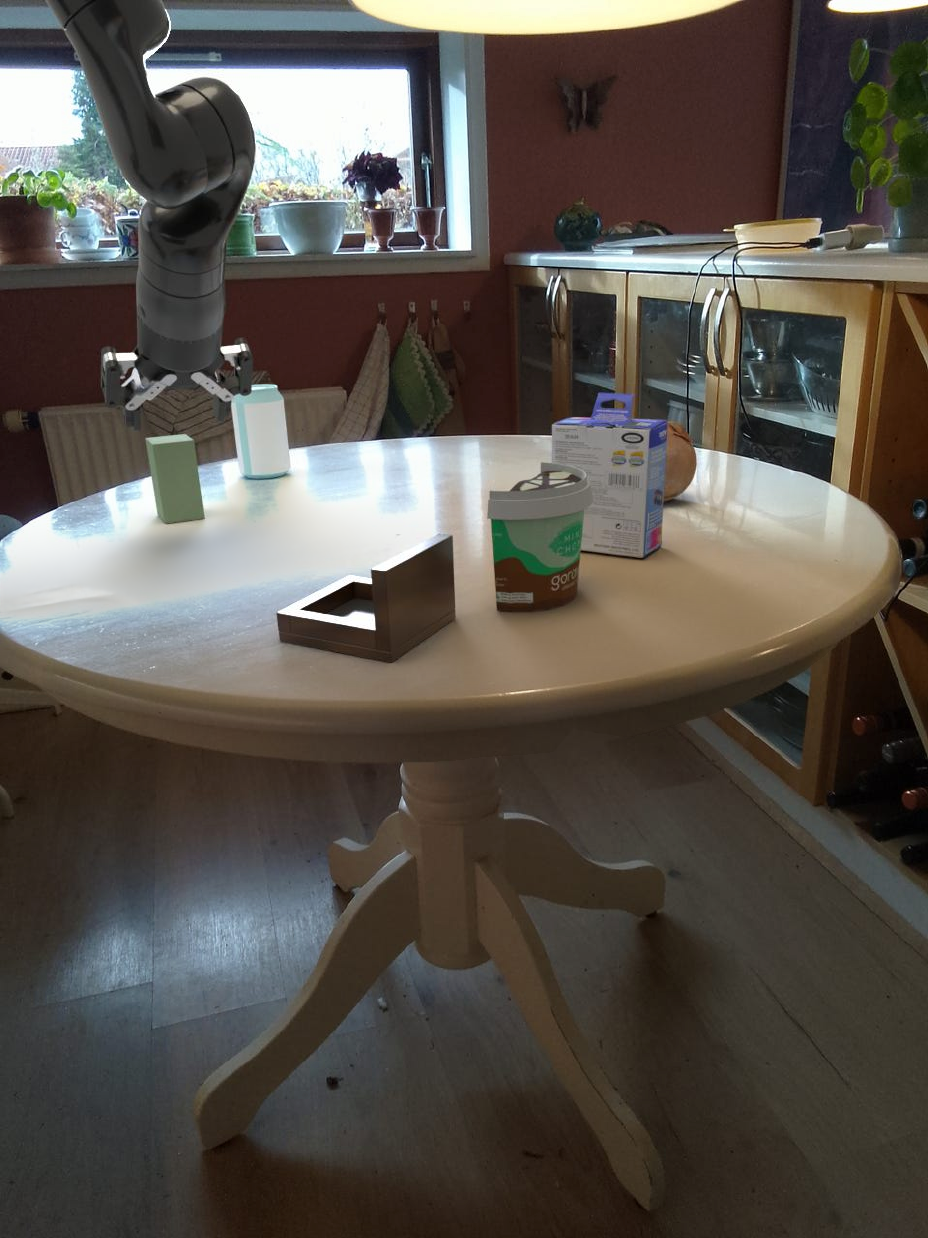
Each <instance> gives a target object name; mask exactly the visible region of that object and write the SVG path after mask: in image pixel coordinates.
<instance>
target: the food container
mask: <svg viewBox="0 0 928 1238" xmlns="http://www.w3.org/2000/svg"><path fill="white" fill-rule="evenodd" d="M592 503H593V496H592V491H591V486H590V482H589V480H588V479H587V475H586V473H585V472H584V471H583V470H581V469H579V468H576V467H573V466H568V465H563V464H557V463H552V462H547V461H541V462H540V473H538V474H537V475H536V476H534V477H532V478H530V479H529V478H528V479H523V480H520V481H518V482H517V483H516V484H514V486H513V487H512V488H511V489H510V490H489V498H488V501H487V516H486V517H487V520H490V526H491V544H492V554H493V555H492V557H493V558H492V560H493V575H494V588H495V589H494V590H495V604H496V605H495V606H496V607H495V608H496V611H501V612H510V613H515V612H516V613H517V612H519V613H521V612H523V613H525V612H526V613H527V612H529V613H530V612H538V611H539V612H540V611H547V610H552V609H556V608H559V607H563V606H565V605H567V604H568V603H571V602H572V601H573V600H574V599H576V597H577V593H578V585H579V584H578V583H579V575H580V573H579V572H580V562H581V551H582V550H581V542H582V531H583V520H584V509H585V508H587V507H589V506H590V505H591V504H592Z"/></svg>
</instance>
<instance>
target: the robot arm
mask: <svg viewBox="0 0 928 1238" xmlns="http://www.w3.org/2000/svg"><path fill="white" fill-rule="evenodd" d="M45 2H46V4H47V5H48V7H49V9H50V11H51V12H52V14H53V16H54V17H55V19H56V20H57V22H58V24H59V26H60V27H61V29H62V31H63V32H64V34H65V36H66V37H67V39H68V41H69V43H70V44H71V45H72V47H73V49H74V52H75V53H76V56H77V58H78V60H79V63H80V67H81V69H82V71H83V74H84V77H85V80H86V83H87V85H88V88H89V91H90V94H91V96H92V98H93V102H94V104H95V107H96V110H97V113H98V116H99V119H100V122H101V126H102V129H103V132H104V135H105V138H106V141H107V145H108V147H109V150H110V153H111V156H112V159H113V160H114V163H115V165H116V167H117V169H118V171H119V172H120V174H121V176H122V177H123V179H124V181H125V182H126V183H127V185H128V186H129V187H130V188H131V189H132V190H133V191H134V192H135V193H136V194H137V195H138V196H139V197H141V198H142V199H143V200H144V201H145V202H144V204H143V206H142V207H141V209H140V212H139V215H138V224H137V238H138V241H137V244H138V267H137V271H136V272H137V273H136V281H135V282H136V283H135V291H136V292H135V294H136V295H135V296H136V297H135V298H136V301H135V302H136V333H137V336H136V337H137V343H136V346H135V348H134V349H133V350H132V352H116V349H115V347H113V346H111V345H110V346H109V345H108V346H104V347H103V348H101V353H100V354H101V355H100V356H101V357H100V358H101V359H100V388H101V391H102V393H103V397H104V404H105V407H107V408H109V409H115V408H117V407H119V406H121V407H122V415H123V419H124V422H125V425H126V427H128V428H132V430H133V432H140V431H142V418H141V417H142V415H141V414H142V413H141V411H142V410H141V406H142V405H143V403H145V402H146V401H147V400H148V401H152V400H154V399H155V398H156V397H157V396H158V395H159V394H160V393H162V392H163V391H164V392H168V391H174V390H178V389H188V390H189V389H190V390H191V389H197V388H198V386H201V387H202V388H204V389H205V390H206V391H207V392H209V394H211V395H212V396H213V397H212V411H213V415H214V418H215V421H216V423H224V422H225V418H229V417H230V415H231V412H232V409H231V402H232V399H233V398H234V396H235V395H237V394H241V395H242V396H247V395H249V394H250V393H251V391H252V385H253V369H254V367H253V366H254V358H253V355H252V353H251V349H250V346H249V344H248V340H247V338H245V337H237V338H236V339H235V340H234V344H233V345H226V346H222V340H223V329H224V321H225V320H224V318H225V314H226V311H227V310H226V309H227V301H226V295H227V294H226V281H225V272H226V262H227V250H228V249H227V247H228V238H229V235H230V233H231V230H232V228H233V226H234V224H235V222H236V221H237V219H238V215H239V212H240V209H241V207H242V205H243V202H244V199H245V196H246V194H247V191H248V188H249V185H250V182H251V179H252V176H253V172H254V167H255V162H256V153H257V146H256V143H257V142H256V134H255V129H254V124H253V121H252V117H251V115H250V111H249V110H248V108H247V105H246V104H245V102H244V101H243V99H242V98H241V96H240V95H239V94H238V93H237V91H235V89H233V88H232V87H231V86H230V85H228V84H227V83H226V82H224V81H222V80H221V79H217V78H215V77H207V76H201V77H196V78H191V79H189V80H186V81H184V82H181V83H179V84H177V85H174V86H172V87H169V88H167V89H165V90H163V91H160V92H158V93H156V94H155V93H154V92H153V90H152V88H151V85H150V81H149V78H148V74H147V68H146V59H148V58H149V57H150V56H151V55H153V54H154V53H155V52H156V51H158V49H159V48H161V47H162V45H163V44H164V43H166V41H167V39H168V37H169V35H170V31H171V20H170V16H169V13H168V11H167V9H166V7H165V4H164V2H163V0H45ZM225 361H228V362H229V363H230V366H231V367H233V376H229V377H228V376H227V375H226V374H225V373H224V372H222V371H221V370H220V368H221V367H222V366H223V365H224V364H225ZM131 368H133V369H132V371H131V375H130V377H128V378H127V379H126V380H125V381H124V382H123V383H122V384H121V380H124V379H125V378H126V374H127V373H128V371H129V369H131ZM120 384H121V385H120Z"/></svg>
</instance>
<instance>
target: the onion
mask: <svg viewBox="0 0 928 1238" xmlns="http://www.w3.org/2000/svg"><path fill="white" fill-rule="evenodd" d="M693 442H694V440H693V439H692V438H691V437H690V434H689V433H688V432H687V429H686V428H685V427H684V426H683V425H682V423H679V422H676V421H668V420H667V444H666V464H665V483H664V501H663V503H666V502H669V501H671V500H674V499H675V498H677V497H679V496H681V494H683V493H684V492H685V491H686V490H687V489H689V487H690V486H691V483H692V482H693V480H694V478H695V475H696V471H697V465H698V460H697V452H696V450H695V449H696V448H695V447H694V445H693Z"/></svg>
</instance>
